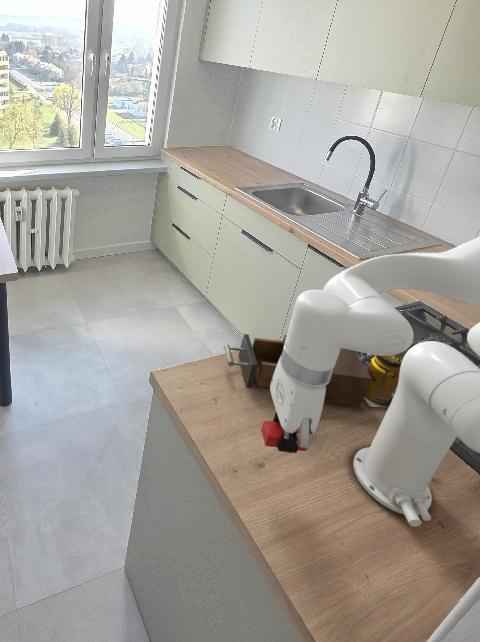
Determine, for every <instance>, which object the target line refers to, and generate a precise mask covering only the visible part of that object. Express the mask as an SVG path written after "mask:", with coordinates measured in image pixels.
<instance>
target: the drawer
mask: <svg viewBox="0 0 480 642" xmlns="http://www.w3.org/2000/svg"><path fill="white" fill-rule="evenodd" d="M284 344H285V342H284V341H283V340H276V339H268V338H267V339H266V338H259V337H254V338H253V341H252V342H251V338H250V335H249V334H248V333H243V336H242V340H241V344H240V347H239V346H238V347H237V346H230V344H228V343H226V344H224V346H223V348H224V349H223V350H224V352H225V353H224V354H225V358H226V362H227V365H228V367H233V366H240V368H241V373H242V377H243V380H244V384H245V388H247V389H252V387H253V383H254V381H255V384H256V387H261V388H263V387H264V388H269V389H270V385H271V381H272V378H273V375H274V372H275V369H276V366H277V363H278V361H279V359H280V357H281V355H282V352H283V348H284ZM232 351H236V352H238V360H239V361H236V360H234V358H233V354H232ZM239 351H240V352H239Z"/></svg>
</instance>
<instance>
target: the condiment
mask: <svg viewBox="0 0 480 642" xmlns="http://www.w3.org/2000/svg"><path fill="white" fill-rule="evenodd" d="M402 360H403V357H402V356H401V355H400V354H395V355H390V356H379V355H374V357H372V358H371V360H370V361H369V362H370V363H369V364H368V367H367V368H366V370H367V371H368V373H369V375H370V376H371V378H372V380H371V383H370V385H369V387H368V390H367V392H366V394H365V397H364V399H363V400H364V401H365V402H366V403H367V405H368V406H369V407H370V408H389V406H390V404H391V402H392V400H393V397H394V395H395V392H394V391H395V390H396V388H397V386H398V381H399V373H400V367H401V363H402Z"/></svg>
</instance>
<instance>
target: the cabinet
mask: <svg viewBox="0 0 480 642" xmlns="http://www.w3.org/2000/svg"><path fill="white" fill-rule="evenodd" d="M286 337H287V334H284V335H283V338H282V341H284V342H285V341H286ZM371 380H372V378H371V376H370V375H369V373H368V371H367V368H366V366H365V364H364V363H363V361H362V360H361V358H360V356H359V355H358V352H357V351H353V350H349V349H341V350H340V353H339V356H338V359H337V362H336V364H335V367H334V370H333V373H332V376H331V379H330V382H329V383H328V384H327V385H326V392H325V398H324V403H323V404H327V405H335V406H336V405H337V406H342V407H349V408H357V409H360V408H361V406H362V403H363V401H364V400H365V399H364V397H365V394H366V392H367V390H368V387H369V385H370V383H371Z"/></svg>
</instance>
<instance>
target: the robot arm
mask: <svg viewBox="0 0 480 642" xmlns="http://www.w3.org/2000/svg"><path fill="white" fill-rule="evenodd" d="M395 290H396V291H397V290H417V291H424V292H428V293H431V294H436V295H439V296H442V297H447V298H449V299H453V300H457V301H461V302H464V303H465V302H466V303H469V304H473V305H480V236H478V237H475V238H473V239H471V240H468V241H467V242H464V243H462V244H460V245H457V246H455V247H454V248H451V249H449V250H445V251H441V252H406V253H393V254H385V255H384V254H383V255H380V256H379V255H378V256H375V257H371V258H368V259H366V260H363V261H362V262H359V263H358V264H355V265H352V266H350V267H348V268H346V269H344V270H342V271H340V272H339V273H337V274H336V275H334V276H333V277H332V278H330V279H329V280H328V281H327V282H326V283H325V285H324V286H323V289H308V290H305V291H303V292H301V293H300V294H299V295H298V297H297V298H296V300H295V302H294V307H293V311H292V315H291V317H290V322H289V326H288V330H287V333H286V335H287V337H286V341H285V344H284V348H283V352H282V355H281V357H280V359H279V361H278V363H277V366H276V369H275V372H274V375H273V378H272V381H271V385H270V388H269V391H270V395H271V399H272V402H273V406H274V408H275V412H274V416H273V420H272V422H280V424H281V426H282V428H283V429H284V432H281V436H280V439H279V443H278V446H277V447H276V448H277V451H278V452H284V453H285V452H286V453H289V454H297V453H298V451H299V450H298V448H305V449H307V450H309V448H310V447H309V446H310V442H309V441H310V436H313V435H314V434H315V433H316V430H317V428H318V426H319V423H320V420H321V417H322V412H323V409H324V408H323V407H324V404H325V403H324V398H325V392H326V385H327V384H328V383H329V382H330V379H331V376H332V373H333V370H334V367H335V364H336V362H337V359H338V356H339V353H340V350H341V349H349V350H353V351H355V352H357V353H361V354H367V355H373V356H375V355H379V356H390V355H395V354H398V355H400V354H401V353H404V352H405V351H406V353H405V354H404V356H403V357H402V359H403V360H402V363H401V367H400V373H399V380H398V383H397V385H396V388H395V392H394V394H395V395H394V397H393V400H392V402H391V404H390V406H389V407H387V410H386V411H385V413H384V416H383V419H382V421H381V423H380V425H379V427H378V429H377V431H376V433H375V435H374V438H373V440H372V442H371V444H370V446H369V447H368V446H366V447H362V448H360V449H359V450H358V451H357V452H356V453H355V455H354V457H353V461H352V467H353V471H354V475H355V477H356V479H357V480H358V482H359V483H360V485H361V486H362V487H363V489H364V490H365V491H366V492H367V493H368V494H369V495H370V496H371V497H372V498H373V499H374V500H375V501H377V502H378V503H380V504H381V505H382V506H384V507H386V508H388V509H389V510H391V511H393V512H395V513H397V514H401V515H404V517H405V519H406V521H407V523H408V525H409V526H410V527H413V528H414V527H420V526H421V525H422V523H423V522H422V521H421V519H422V520H423V521H425V522H427V521H430V520H432V517H431V514H430V513H429V509H430V507H431V505H432V501H433V499H432V493H431V489H430V487H429V484H430V482H431V481H432V479H433V478H434V476H435V474H436V472H438V471H437V470H438V469H439V467H440V465H441V464H442V462H443V460H444V459H445V457H446V455H447V454H448V452H449V450H450V448H451V447H452V445H453V444H454V443H455V441H456V438H458V439H459V440H460V441H461V442H462V443H463V444H464V445H465V446H466V447H468V448H469V449H470V450H472V451H474V452H475V453H478V454H480V368H479V367H478V365H476V364H475V363H474V362H473V361H472V360H470V358H468V357H467V356H465V354H463V353H462V352H460V351H459V350H457V349H456V348H455V347H453V346H451V345H449V344H447V343H445V342H441V341H435V340H427V341H421V342H418V343H416V344H414V345H413V346H412V343H413V341H414V330H413V328H412V325H411V324H410V322H409V321H408V319H406V318H405V316H404V315H403V314H402V313H401V312H400V311H399V310H397V309H396V308H395V307H394V306H393V305H392V304H391V303H390V302H389V300H387V299H386V298H385V297H384V296H383V295H381V294H383V293H386V292H390V291H395ZM466 340H467V343H468V346H469V347H470V349H471V350H472V351H473V352H474V353H475V354H476V356H478V358H480V321H479V322H478V323H476V324H475V325H474V326H472V328H470V329H469V330H468V332H467V337H466ZM297 429H298V432H295V431H296V430H297ZM420 517H421V519H420Z"/></svg>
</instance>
